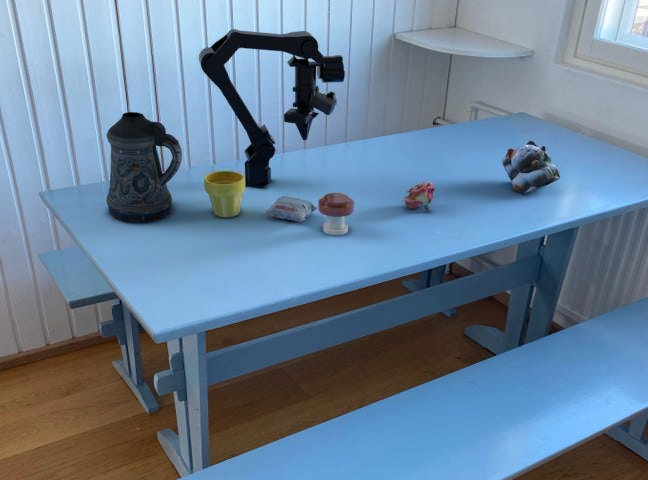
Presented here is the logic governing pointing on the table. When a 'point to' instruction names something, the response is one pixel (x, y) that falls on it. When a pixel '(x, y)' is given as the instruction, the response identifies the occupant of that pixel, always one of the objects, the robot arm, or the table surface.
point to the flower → (419, 196)
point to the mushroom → (335, 212)
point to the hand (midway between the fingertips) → (305, 139)
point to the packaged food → (291, 208)
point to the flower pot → (225, 191)
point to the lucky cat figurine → (530, 167)
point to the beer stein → (140, 169)
